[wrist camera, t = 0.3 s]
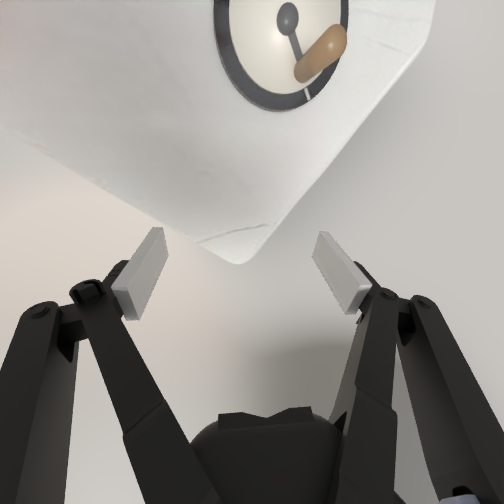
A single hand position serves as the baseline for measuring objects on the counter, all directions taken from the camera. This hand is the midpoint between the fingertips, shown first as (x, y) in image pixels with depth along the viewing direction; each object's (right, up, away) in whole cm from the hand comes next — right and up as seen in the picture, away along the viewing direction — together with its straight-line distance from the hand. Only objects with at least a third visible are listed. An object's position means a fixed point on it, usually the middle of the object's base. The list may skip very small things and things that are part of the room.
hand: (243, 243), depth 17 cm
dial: (+5, +32, +11) cm, 34 cm away
